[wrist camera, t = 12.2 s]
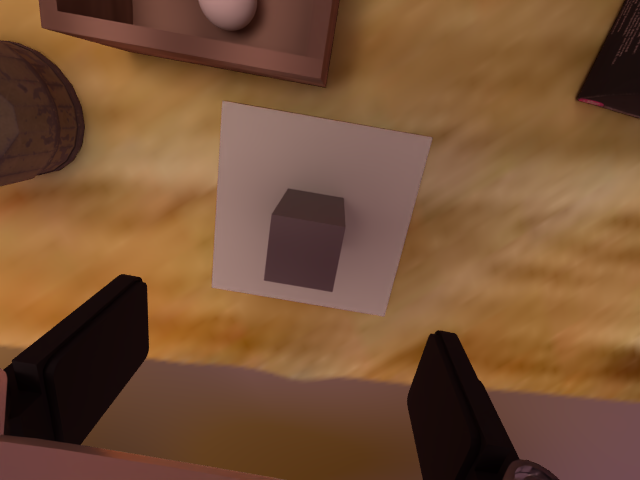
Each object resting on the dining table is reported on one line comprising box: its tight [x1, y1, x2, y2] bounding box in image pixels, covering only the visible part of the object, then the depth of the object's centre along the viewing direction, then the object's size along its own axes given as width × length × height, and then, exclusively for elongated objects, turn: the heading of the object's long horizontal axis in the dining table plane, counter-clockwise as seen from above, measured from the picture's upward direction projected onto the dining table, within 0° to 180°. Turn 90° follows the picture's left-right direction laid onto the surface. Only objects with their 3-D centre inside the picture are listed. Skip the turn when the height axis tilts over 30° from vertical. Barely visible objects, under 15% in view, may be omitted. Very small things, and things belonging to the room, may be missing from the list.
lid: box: [212, 101, 432, 316], centre depth 23 cm, size 14×14×8 cm
